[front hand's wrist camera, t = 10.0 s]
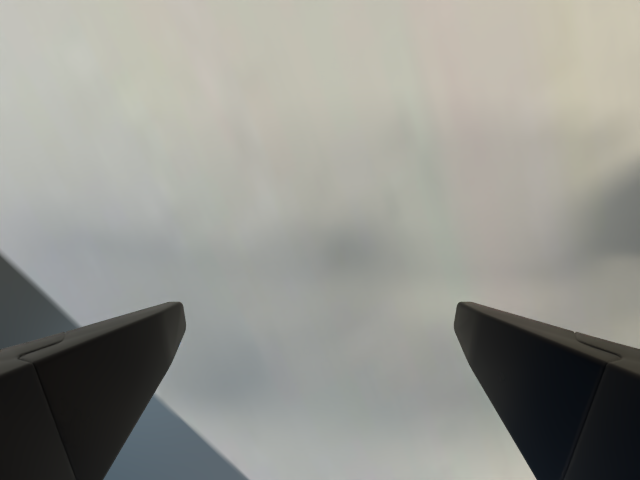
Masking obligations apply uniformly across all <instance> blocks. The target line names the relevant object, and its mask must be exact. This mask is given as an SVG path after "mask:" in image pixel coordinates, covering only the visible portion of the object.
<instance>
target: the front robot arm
mask: <svg viewBox="0 0 640 480" xmlns="http://www.w3.org/2000/svg"><path fill="white" fill-rule="evenodd" d="M185 330H186V321H185V315H184V308H183V305H182V303H181V302H167V303H163V304H160V305H157V306H153V307H150V308H146V309H143V310H139V311H136V312H132V313H129V314H125V315H122V316H118V317H115V318H112V319H108V320H105V321H101V322H98V323H94V324H91V325H87V326H84V327H80V328H77V329H74V330H70V331H67V332H66V333H65V332H61V333H58V334H54V335H51V336H47V337H44V338H40V339H37V340H33V341H29V342H26V343H22V344H18V345H14V346H11V347H7V348H3V349H0V480H103V479H104V477H105V476H106V474H107V472H108V471H109V469H110V467H111V465H112V464H113V462H114V460H115V459H116V457H117V455H118V454H119V452H120V450H121V448H122V447H123V445H124V443H125V442H126V440H127V438H128V437H129V435H130V433H131V432H132V430H133V428H134V426H135V425H136V423H137V421H138V420H139V418H140V416H141V415H142V413H143V411H144V410H145V408H146V406H147V404H148V403H149V401H150V399H151V398H152V396H153V394H154V393H155V391H156V389H157V387H158V386H159V384H160V382H161V381H162V379H163V377H164V376H165V374H166V372H167V371H168V369H169V367H170V365H171V363H172V361H173V359H174V356H175V354H176V352H177V349H178V347H179V345H180V342H181V340H182V338H183V335H184V333H185ZM454 330H455V333H456V335H457V338H458V340H459V342H460V345H461V347H462V349H463V352H464V354H465V356H466V359H467V361H468V363H469V365H470V367H471V369H472V371H473V372H474V374H475V376H476V377H477V379H478V381H479V382H480V384H481V386H482V387H483V389H484V391H485V393H486V394H487V396H488V398H489V399H490V401H491V403H492V404H493V406H494V408H495V410H496V411H497V413H498V415H499V416H500V418H501V420H502V421H503V423H504V425H505V426H506V428H507V430H508V432H509V433H510V435H511V437H512V438H513V440H514V442H515V443H516V445H517V447H518V448H519V450H520V452H521V454H522V455H523V457H524V459H525V460H526V462H527V464H528V465H529V467H530V469H531V471H532V472H533V474H534V476H535V477H536V479H537V480H640V349H637V348H633V347H629V346H626V345H622V344H618V343H614V342H611V341H607V340H603V339H600V338H596V337H593V336H589V335H586V334H582V333H579V332H575V333H574V332H573V331H570V330H567V329H563V328H560V327H556V326H553V325H549V324H546V323H542V322H539V321H535V320H532V319H528V318H525V317H522V316H518V315H515V314H511V313H508V312H504V311H501V310H497V309H494V308H490V307H487V306H483V305H480V304H477V303H473V302H459V303H458V305H457V308H456V315H455V321H454Z"/></svg>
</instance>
